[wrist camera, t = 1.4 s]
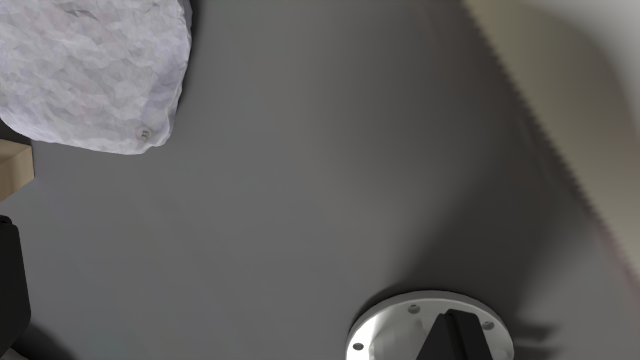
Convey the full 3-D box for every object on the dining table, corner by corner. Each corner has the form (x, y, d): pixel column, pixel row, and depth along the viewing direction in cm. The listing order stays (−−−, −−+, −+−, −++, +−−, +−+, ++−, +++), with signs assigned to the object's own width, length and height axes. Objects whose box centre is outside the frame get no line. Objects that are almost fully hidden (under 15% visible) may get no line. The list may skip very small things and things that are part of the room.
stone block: (201, -65, 23) (-8, -102, 21) (189, -61, 19) (-71, -106, 17) (197, 134, 29) (34, 119, 27) (187, 169, 25) (-5, 155, 23)
